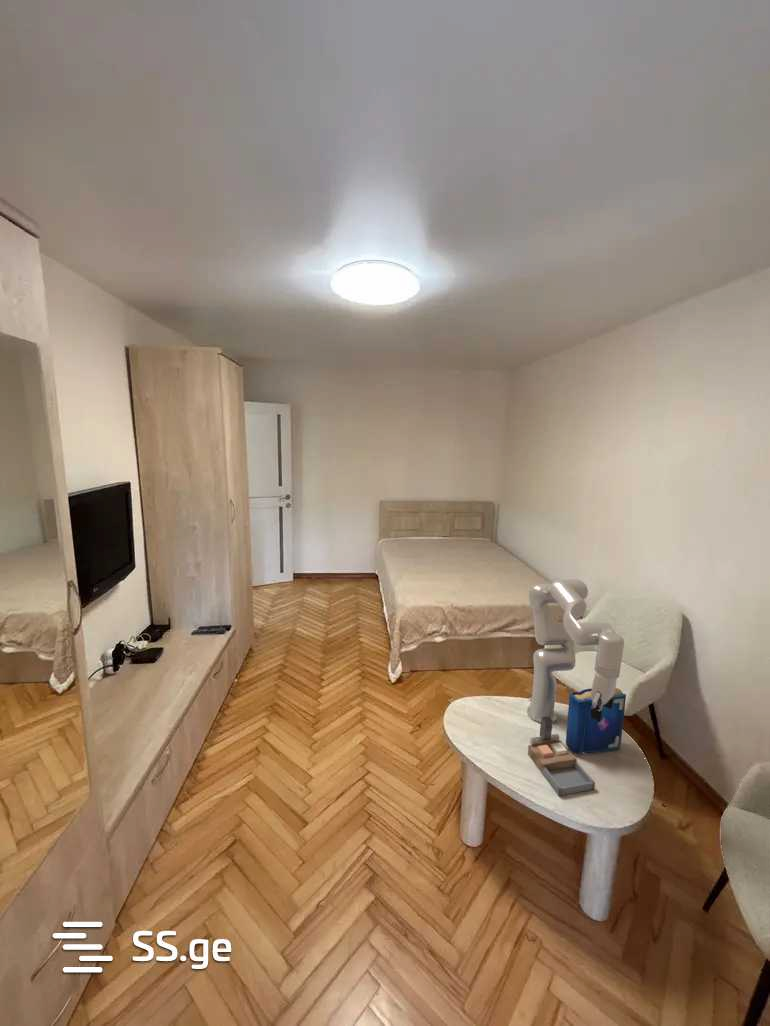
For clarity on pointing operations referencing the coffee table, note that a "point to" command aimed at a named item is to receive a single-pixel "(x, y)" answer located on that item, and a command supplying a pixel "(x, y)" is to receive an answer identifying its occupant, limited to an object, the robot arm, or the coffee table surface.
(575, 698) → the book
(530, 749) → the brown tray
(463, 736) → the coffee table surface
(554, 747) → the tile cream
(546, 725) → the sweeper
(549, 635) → the robot arm
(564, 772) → the box
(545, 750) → the tile terracotta
